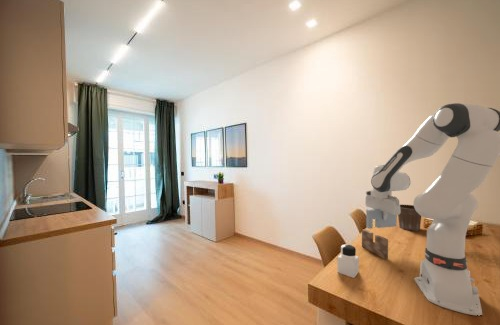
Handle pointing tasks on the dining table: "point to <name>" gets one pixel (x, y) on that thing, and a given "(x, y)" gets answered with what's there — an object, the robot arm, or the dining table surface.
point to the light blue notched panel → (379, 219)
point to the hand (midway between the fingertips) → (381, 218)
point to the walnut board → (375, 244)
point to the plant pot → (409, 218)
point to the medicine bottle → (348, 261)
